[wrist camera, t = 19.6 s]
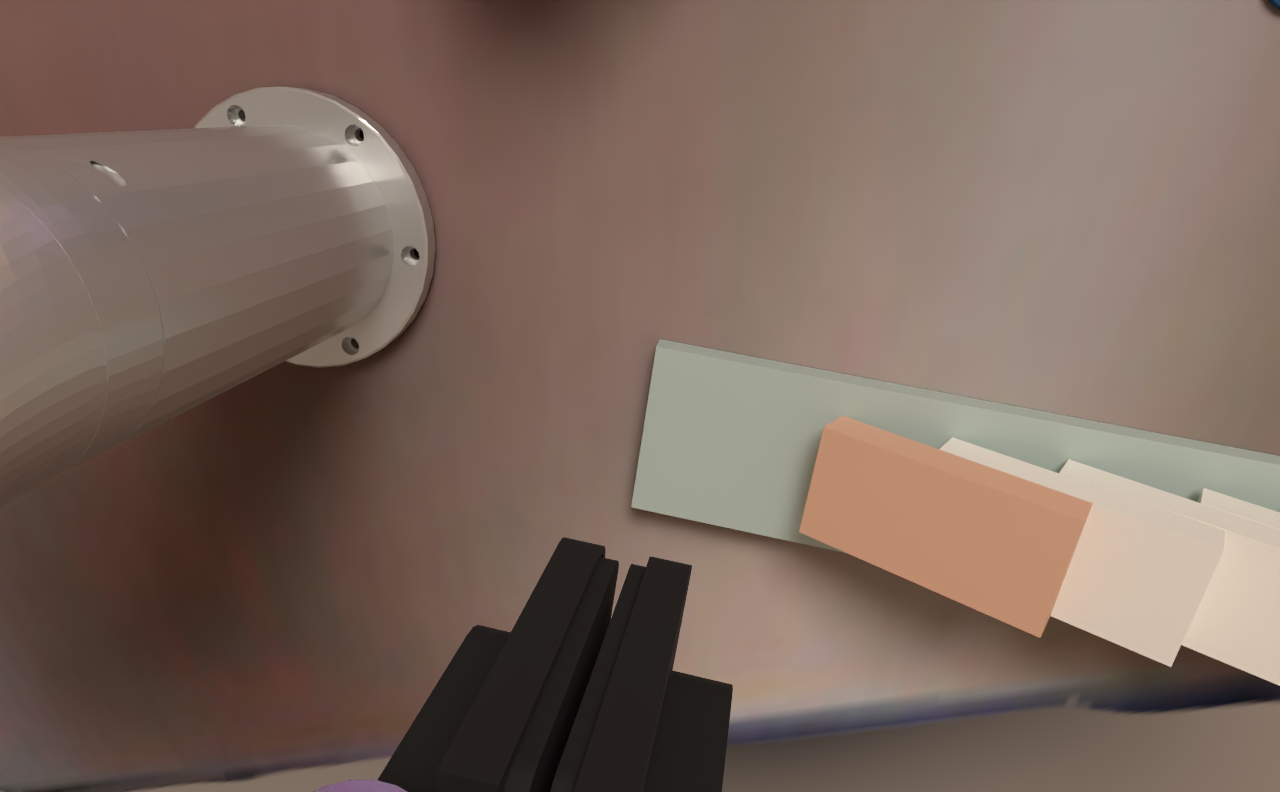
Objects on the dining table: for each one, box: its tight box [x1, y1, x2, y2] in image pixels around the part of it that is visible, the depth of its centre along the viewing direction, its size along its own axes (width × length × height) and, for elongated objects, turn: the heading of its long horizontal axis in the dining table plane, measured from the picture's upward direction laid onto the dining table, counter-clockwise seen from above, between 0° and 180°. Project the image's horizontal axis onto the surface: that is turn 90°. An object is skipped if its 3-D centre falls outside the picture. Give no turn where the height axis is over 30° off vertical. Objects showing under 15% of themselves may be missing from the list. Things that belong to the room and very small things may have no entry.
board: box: [631, 339, 1280, 554], centre depth 37 cm, size 27×8×1 cm, turn 82°
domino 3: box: [1059, 459, 1280, 686], centre depth 32 cm, size 2×5×10 cm
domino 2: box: [939, 437, 1225, 667], centre depth 33 cm, size 2×5×10 cm
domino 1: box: [799, 416, 1093, 638], centre depth 33 cm, size 2×5×10 cm
